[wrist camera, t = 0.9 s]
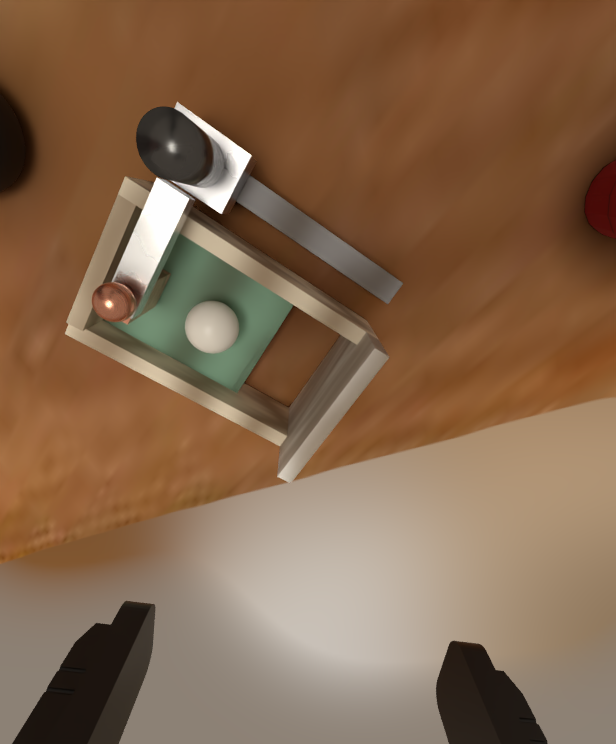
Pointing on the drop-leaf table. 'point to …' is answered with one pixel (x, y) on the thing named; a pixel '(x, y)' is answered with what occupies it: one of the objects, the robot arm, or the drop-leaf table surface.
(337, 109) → the drop-leaf table surface
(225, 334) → the ball
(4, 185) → the cola bottle
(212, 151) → the striker
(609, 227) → the plastic cup
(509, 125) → the drop-leaf table surface
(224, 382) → the pitch
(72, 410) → the drop-leaf table surface
